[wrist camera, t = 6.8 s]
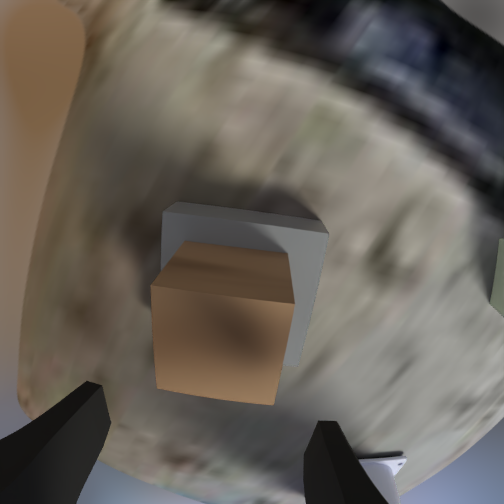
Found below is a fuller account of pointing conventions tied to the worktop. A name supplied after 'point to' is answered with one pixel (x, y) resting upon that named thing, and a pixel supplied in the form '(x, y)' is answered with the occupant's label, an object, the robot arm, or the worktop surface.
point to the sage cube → (499, 281)
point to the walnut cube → (222, 322)
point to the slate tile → (261, 238)
